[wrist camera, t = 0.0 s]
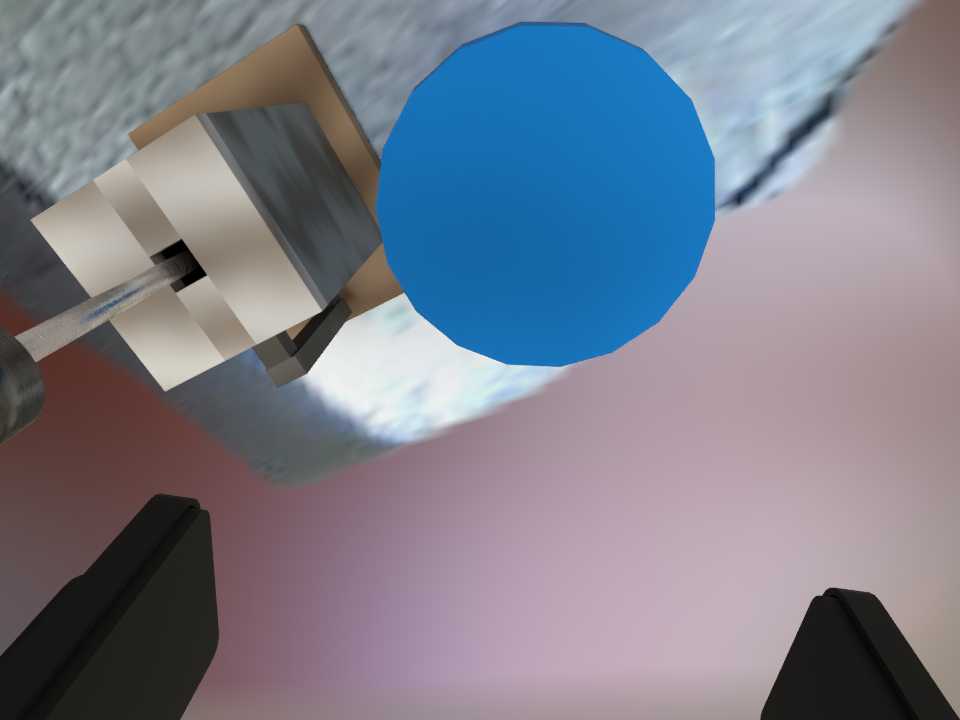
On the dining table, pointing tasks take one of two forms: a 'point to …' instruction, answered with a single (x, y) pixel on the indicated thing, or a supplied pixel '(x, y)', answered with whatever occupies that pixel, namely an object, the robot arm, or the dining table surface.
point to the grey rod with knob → (69, 339)
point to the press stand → (238, 220)
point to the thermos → (546, 194)
